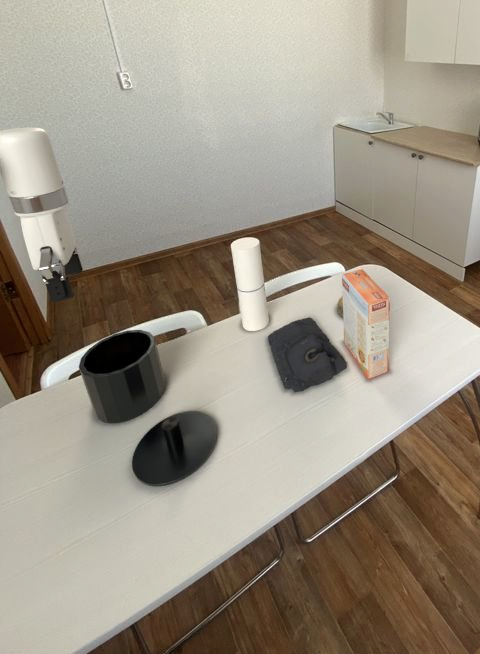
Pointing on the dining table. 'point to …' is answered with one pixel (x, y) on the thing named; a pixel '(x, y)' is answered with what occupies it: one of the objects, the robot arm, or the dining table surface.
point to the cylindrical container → (250, 283)
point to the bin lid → (174, 448)
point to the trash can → (123, 375)
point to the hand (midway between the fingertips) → (68, 285)
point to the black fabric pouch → (304, 355)
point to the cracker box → (366, 322)
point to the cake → (340, 307)
